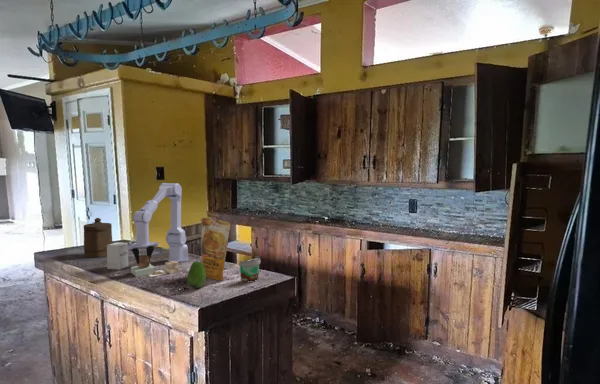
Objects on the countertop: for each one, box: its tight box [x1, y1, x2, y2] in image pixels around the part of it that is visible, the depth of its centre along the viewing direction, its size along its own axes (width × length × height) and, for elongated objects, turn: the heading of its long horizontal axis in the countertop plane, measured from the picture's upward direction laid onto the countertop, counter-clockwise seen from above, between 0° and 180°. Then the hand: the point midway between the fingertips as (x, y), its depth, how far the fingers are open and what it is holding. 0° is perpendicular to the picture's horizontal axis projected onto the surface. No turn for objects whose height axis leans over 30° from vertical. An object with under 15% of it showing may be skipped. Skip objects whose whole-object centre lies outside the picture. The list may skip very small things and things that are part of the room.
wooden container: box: [83, 217, 113, 259], centre depth 219 cm, size 15×15×22 cm
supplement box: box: [106, 242, 129, 271], centre depth 192 cm, size 7×7×13 cm
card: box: [148, 269, 168, 278], centre depth 183 cm, size 8×8×1 cm
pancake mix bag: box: [200, 217, 232, 281], centre depth 177 cm, size 7×19×28 cm, turn 52°
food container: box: [238, 255, 262, 283], centre depth 173 cm, size 12×6×10 cm, turn 148°
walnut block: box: [136, 253, 150, 268], centre depth 182 cm, size 4×4×5 cm
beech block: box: [164, 261, 179, 275], centre depth 185 cm, size 4×4×5 cm
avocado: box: [186, 260, 207, 289], centre depth 162 cm, size 8×8×12 cm
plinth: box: [130, 262, 156, 278], centre depth 183 cm, size 9×9×3 cm
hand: (143, 262), depth 182 cm, fingers closed on walnut block, 4 cm apart
